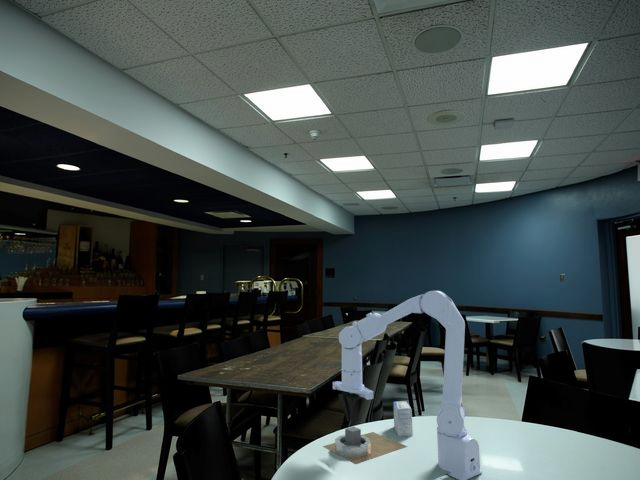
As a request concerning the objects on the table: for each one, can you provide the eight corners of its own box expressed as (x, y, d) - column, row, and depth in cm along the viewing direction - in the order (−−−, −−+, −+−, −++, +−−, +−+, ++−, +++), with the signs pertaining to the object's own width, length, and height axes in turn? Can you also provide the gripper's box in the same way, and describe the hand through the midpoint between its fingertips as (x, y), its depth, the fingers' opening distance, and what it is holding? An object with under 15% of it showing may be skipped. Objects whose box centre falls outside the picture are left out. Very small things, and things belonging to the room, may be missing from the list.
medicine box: (413, 438, 119) (412, 408, 120) (398, 438, 119) (397, 408, 120) (407, 429, 127) (407, 401, 128) (393, 429, 127) (393, 401, 128)
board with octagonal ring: (407, 449, 111) (407, 437, 111) (355, 467, 100) (355, 453, 100) (372, 434, 122) (372, 423, 122) (323, 449, 111) (322, 436, 111)
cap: (367, 450, 108) (367, 429, 109) (352, 456, 105) (352, 434, 105) (353, 444, 112) (353, 424, 113) (338, 449, 109) (338, 428, 110)
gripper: (380, 372, 108) (382, 424, 106) (345, 364, 119) (345, 411, 117) (362, 376, 103) (363, 430, 102) (327, 367, 115) (327, 416, 113)
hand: (352, 421), depth 109 cm, fingers closed
